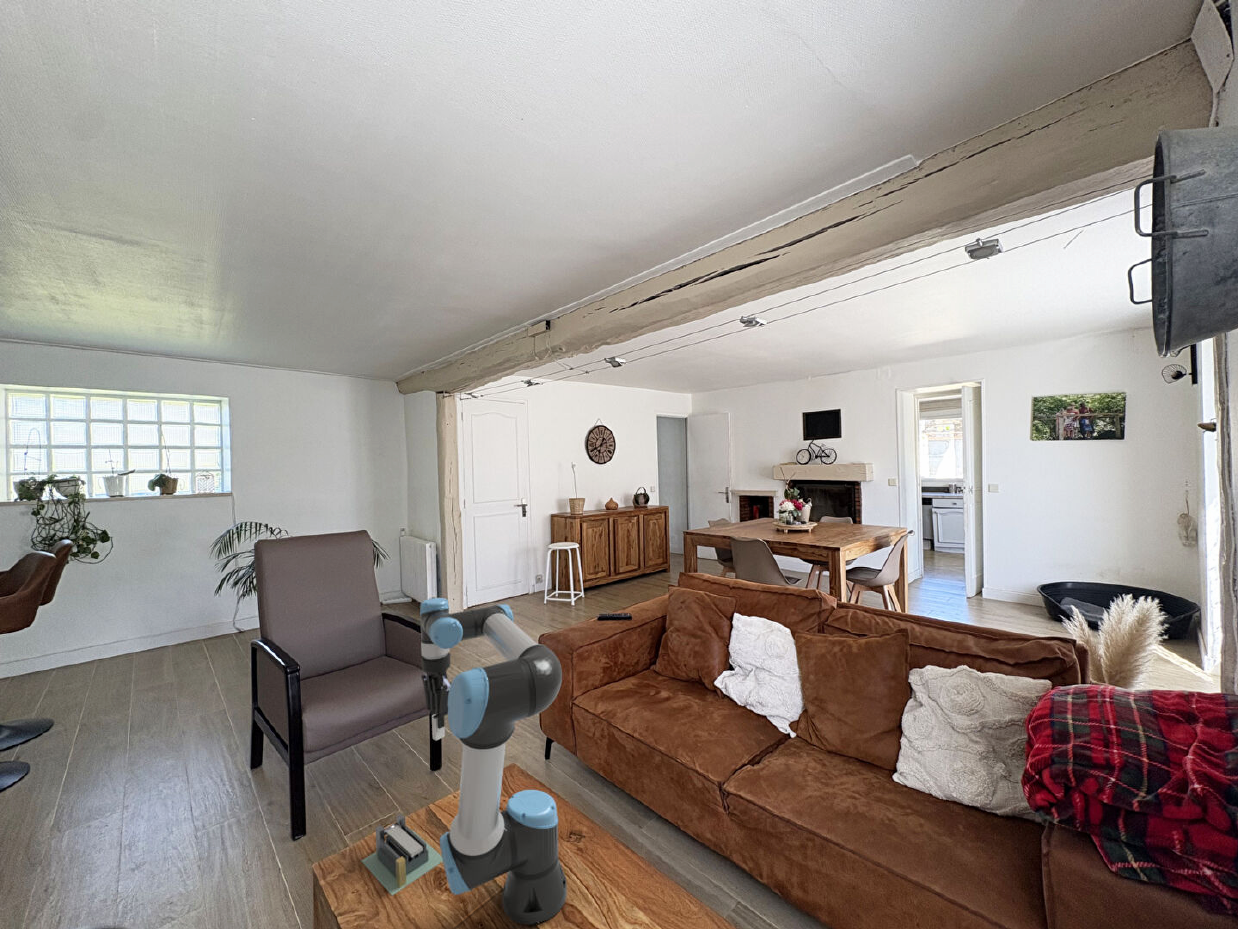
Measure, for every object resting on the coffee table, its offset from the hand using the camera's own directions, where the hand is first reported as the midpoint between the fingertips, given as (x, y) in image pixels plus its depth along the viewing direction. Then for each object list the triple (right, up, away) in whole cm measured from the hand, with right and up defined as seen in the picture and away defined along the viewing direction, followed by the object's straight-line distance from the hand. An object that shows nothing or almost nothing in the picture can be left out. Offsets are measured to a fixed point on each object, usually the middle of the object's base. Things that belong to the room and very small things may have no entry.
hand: (438, 737), depth 145 cm
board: (-5, -27, -12) cm, 30 cm away
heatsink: (-5, -26, -12) cm, 29 cm away
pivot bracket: (-10, -26, -8) cm, 29 cm away
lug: (-2, -26, -19) cm, 32 cm away
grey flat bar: (-5, -21, -12) cm, 25 cm away
